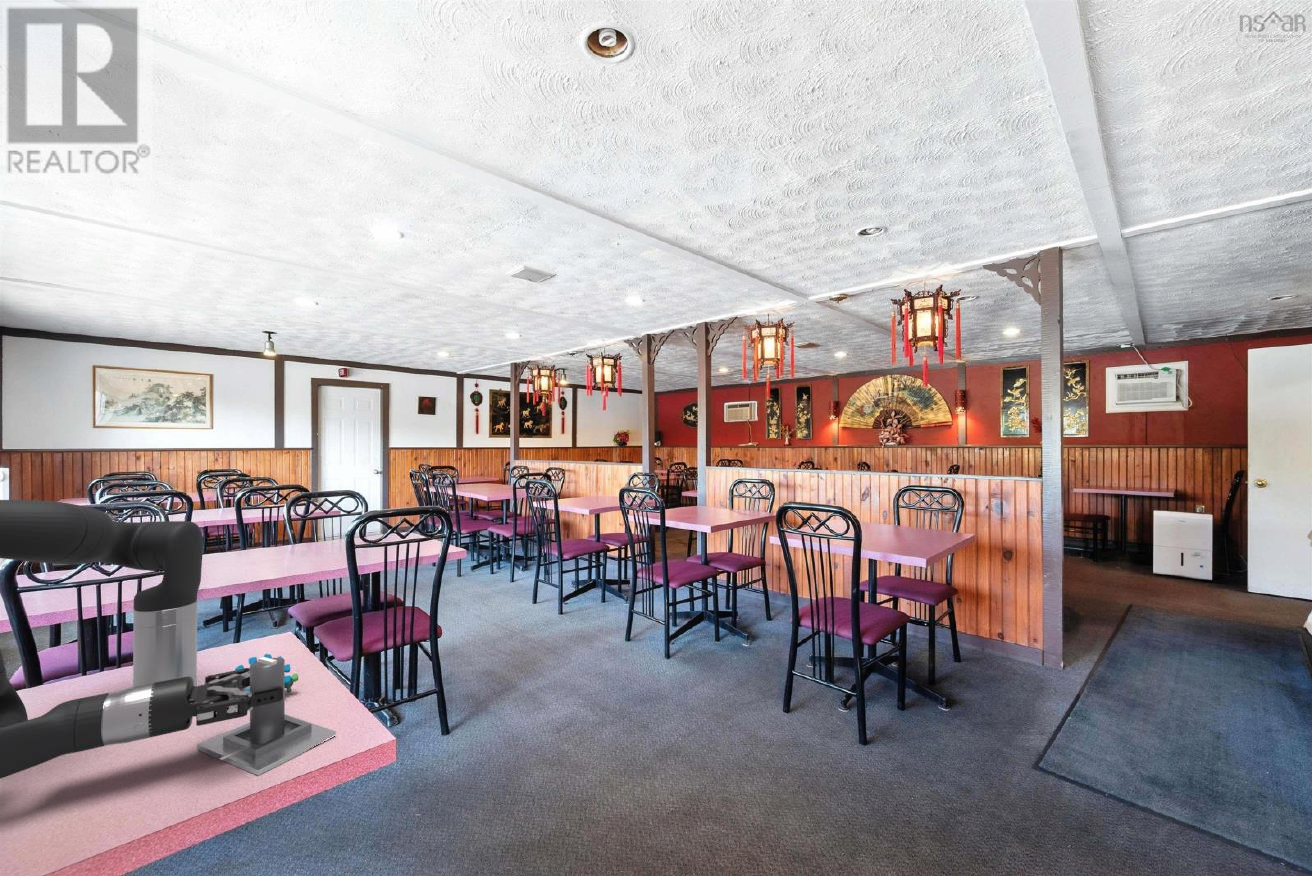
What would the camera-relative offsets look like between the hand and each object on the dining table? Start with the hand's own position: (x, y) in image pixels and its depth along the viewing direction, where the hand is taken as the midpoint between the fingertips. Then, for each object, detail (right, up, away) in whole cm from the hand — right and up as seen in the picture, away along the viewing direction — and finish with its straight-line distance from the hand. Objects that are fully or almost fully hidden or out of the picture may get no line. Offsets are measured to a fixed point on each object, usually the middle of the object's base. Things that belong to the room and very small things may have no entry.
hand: (282, 683), depth 91 cm
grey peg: (-2, -8, -1) cm, 9 cm away
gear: (-13, -10, +14) cm, 21 cm away
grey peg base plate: (-2, -9, -1) cm, 9 cm away
